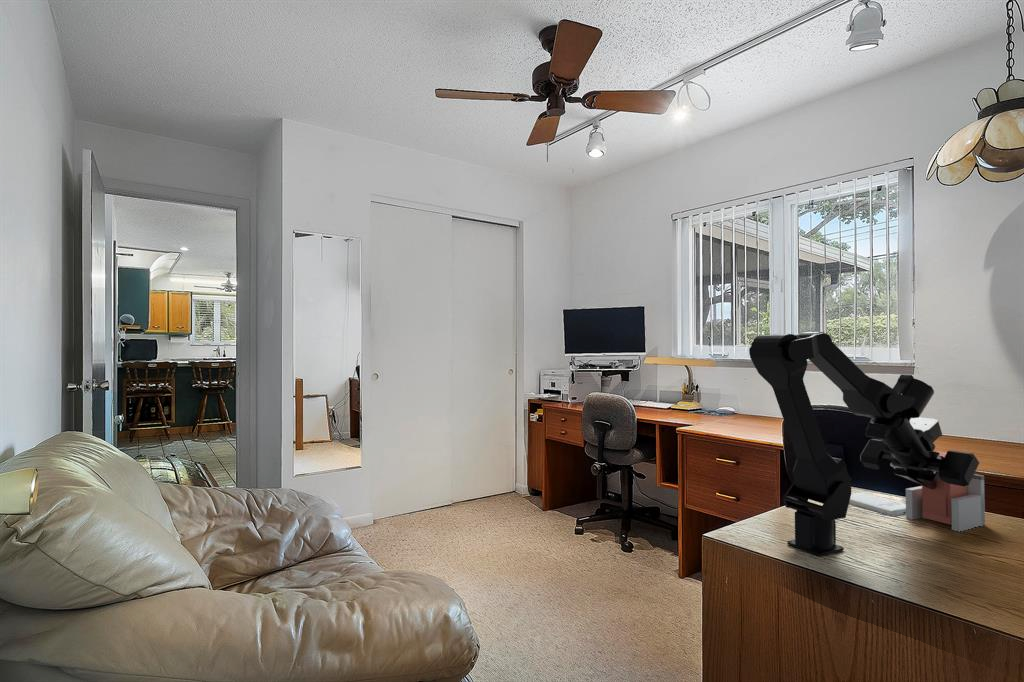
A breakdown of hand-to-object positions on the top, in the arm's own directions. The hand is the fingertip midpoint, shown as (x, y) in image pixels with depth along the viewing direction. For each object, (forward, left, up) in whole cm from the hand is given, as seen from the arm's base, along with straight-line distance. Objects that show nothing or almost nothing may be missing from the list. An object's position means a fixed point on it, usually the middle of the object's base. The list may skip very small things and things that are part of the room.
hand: (933, 487), depth 108 cm
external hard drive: (+3, +13, -8) cm, 15 cm away
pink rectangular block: (+4, 0, -7) cm, 8 cm away
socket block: (+4, 0, -7) cm, 8 cm away
